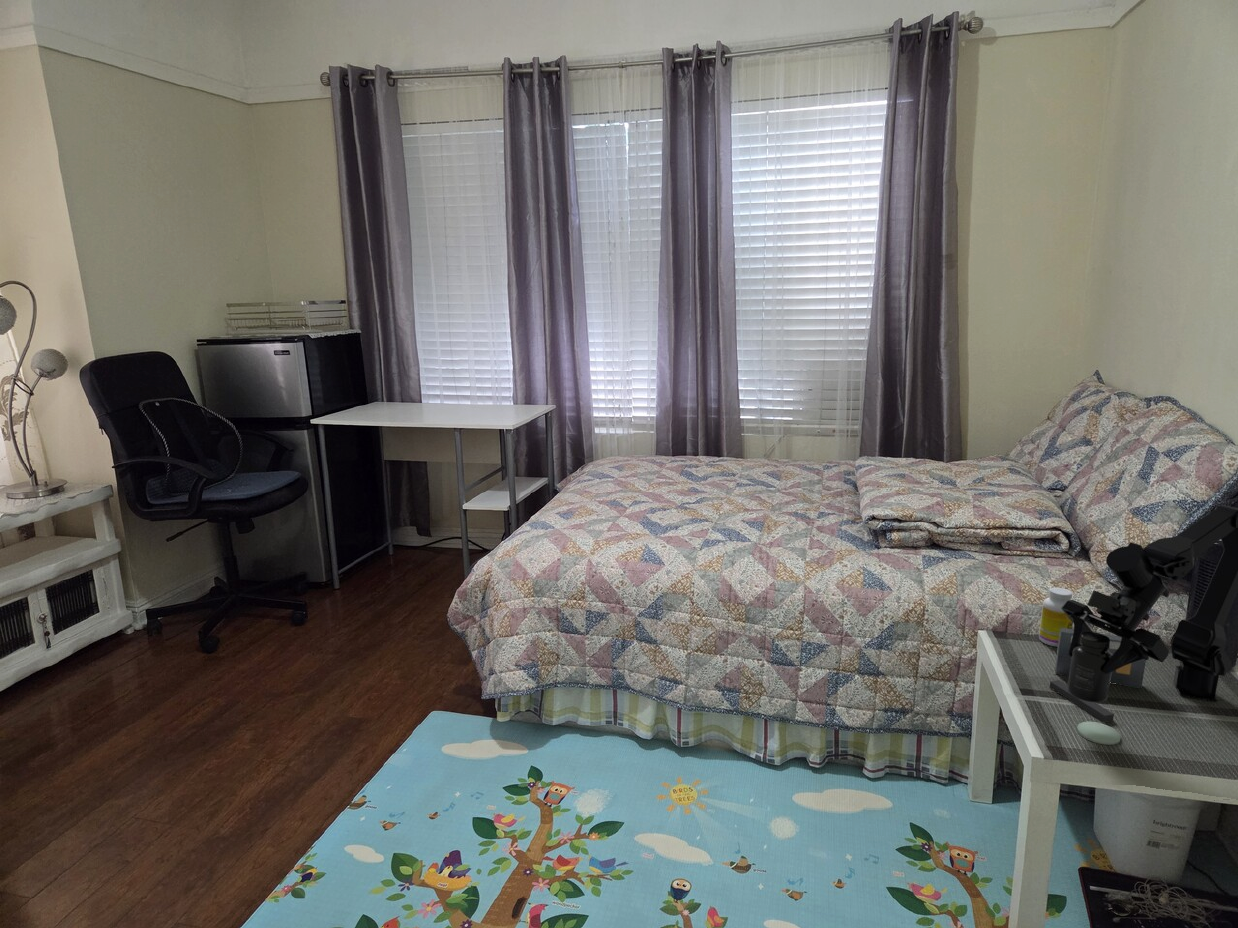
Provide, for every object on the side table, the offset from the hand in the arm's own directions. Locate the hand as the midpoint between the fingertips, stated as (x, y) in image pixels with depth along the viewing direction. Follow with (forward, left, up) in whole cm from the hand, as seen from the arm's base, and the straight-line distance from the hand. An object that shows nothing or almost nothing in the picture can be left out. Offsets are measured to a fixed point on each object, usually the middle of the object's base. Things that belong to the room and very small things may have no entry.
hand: (1086, 663), depth 152 cm
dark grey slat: (-1, -10, -14) cm, 17 cm away
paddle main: (-10, -21, -10) cm, 25 cm away
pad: (-3, +1, -13) cm, 14 cm away
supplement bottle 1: (+1, -40, -13) cm, 42 cm away
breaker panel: (-6, -23, -13) cm, 27 cm away
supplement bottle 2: (-1, -1, -7) cm, 7 cm away
